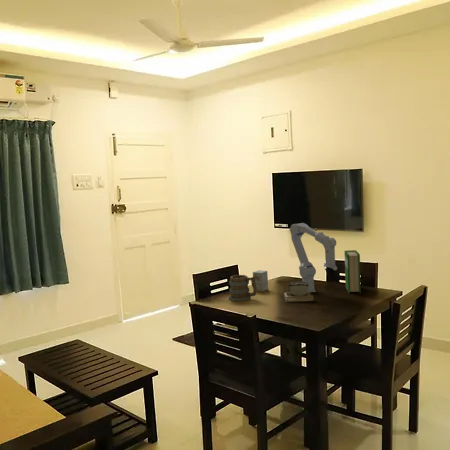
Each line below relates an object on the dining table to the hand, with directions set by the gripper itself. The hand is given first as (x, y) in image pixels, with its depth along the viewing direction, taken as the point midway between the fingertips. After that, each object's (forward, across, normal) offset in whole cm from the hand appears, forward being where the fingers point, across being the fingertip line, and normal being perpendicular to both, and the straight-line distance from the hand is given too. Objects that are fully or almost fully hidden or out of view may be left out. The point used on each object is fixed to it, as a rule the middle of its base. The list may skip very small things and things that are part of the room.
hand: (330, 279), depth 296 cm
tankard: (+10, -12, -52) cm, 54 cm away
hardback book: (+10, -7, +18) cm, 22 cm away
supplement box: (+10, -31, -36) cm, 48 cm away
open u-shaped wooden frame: (+9, +2, -21) cm, 23 cm away
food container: (+10, +1, -21) cm, 23 cm away
